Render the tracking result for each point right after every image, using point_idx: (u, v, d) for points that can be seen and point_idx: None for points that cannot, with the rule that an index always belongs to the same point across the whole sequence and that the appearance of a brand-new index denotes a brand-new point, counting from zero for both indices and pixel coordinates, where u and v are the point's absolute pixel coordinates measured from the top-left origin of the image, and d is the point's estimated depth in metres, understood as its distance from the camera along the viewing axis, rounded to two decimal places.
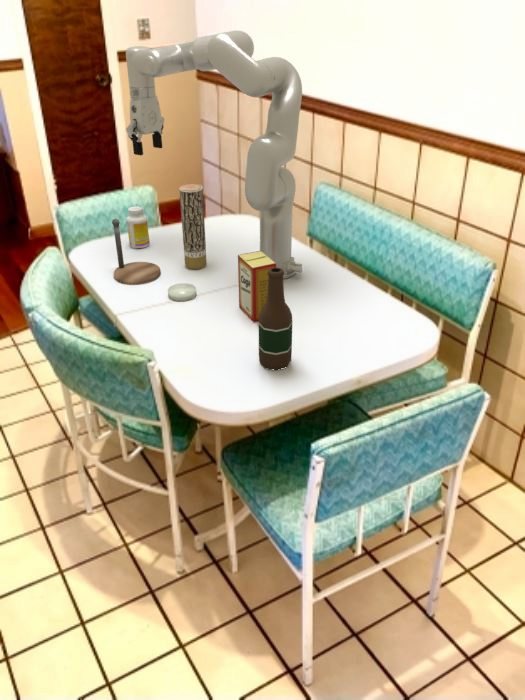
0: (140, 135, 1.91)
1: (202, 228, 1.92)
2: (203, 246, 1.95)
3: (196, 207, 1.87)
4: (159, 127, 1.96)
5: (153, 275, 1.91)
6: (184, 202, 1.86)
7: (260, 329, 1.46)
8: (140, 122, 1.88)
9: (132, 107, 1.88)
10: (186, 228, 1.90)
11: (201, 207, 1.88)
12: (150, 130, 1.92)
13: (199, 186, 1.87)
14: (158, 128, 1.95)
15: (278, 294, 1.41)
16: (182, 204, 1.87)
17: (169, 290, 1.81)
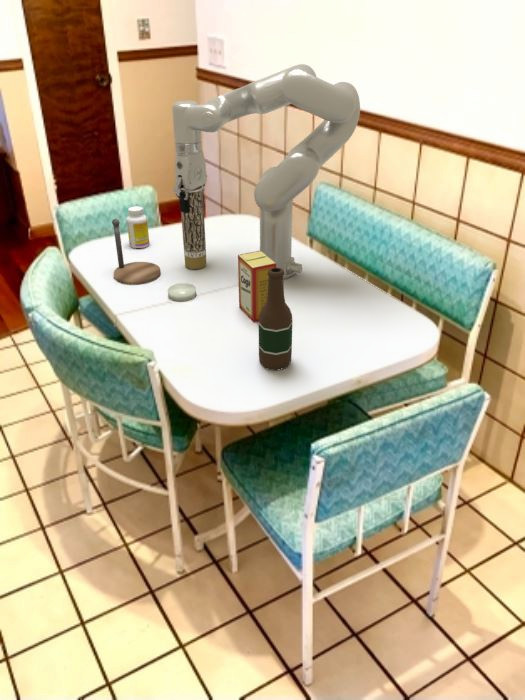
0: (187, 192, 1.84)
1: (202, 228, 1.92)
2: (203, 246, 1.95)
3: (196, 207, 1.87)
4: (204, 182, 1.87)
5: (153, 275, 1.91)
6: None
7: (260, 329, 1.46)
8: (186, 178, 1.80)
9: (177, 163, 1.80)
10: (186, 228, 1.90)
11: (201, 207, 1.88)
12: (195, 186, 1.84)
13: None
14: (203, 183, 1.87)
15: (278, 294, 1.41)
16: None
17: (169, 290, 1.81)
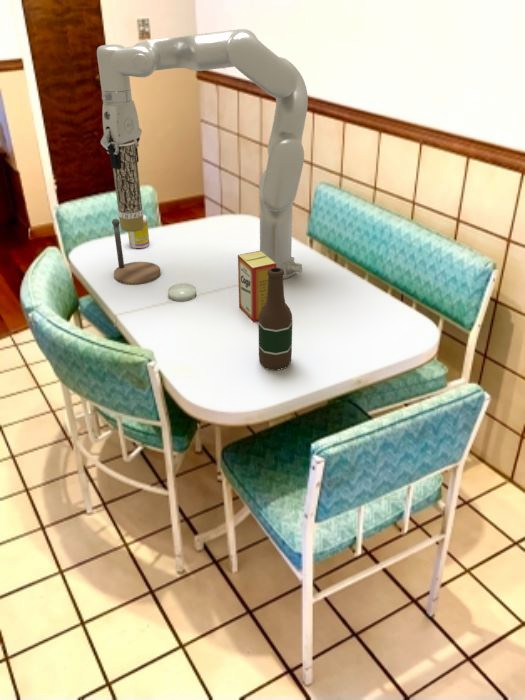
0: (117, 146, 1.70)
1: (136, 186, 1.78)
2: (138, 206, 1.81)
3: (127, 162, 1.74)
4: (136, 135, 1.74)
5: (153, 275, 1.91)
6: None
7: (260, 329, 1.46)
8: (114, 130, 1.67)
9: (105, 113, 1.67)
10: (119, 186, 1.77)
11: (134, 163, 1.75)
12: (126, 139, 1.71)
13: None
14: (135, 137, 1.74)
15: (278, 294, 1.41)
16: None
17: (169, 290, 1.81)
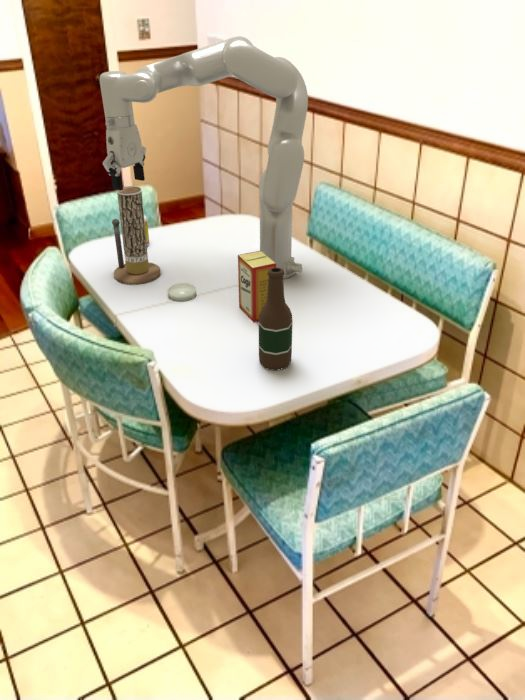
0: (119, 168, 1.73)
1: (142, 232, 1.86)
2: (144, 251, 1.89)
3: (134, 210, 1.81)
4: (140, 158, 1.77)
5: (153, 275, 1.91)
6: (122, 205, 1.80)
7: (260, 329, 1.46)
8: (118, 155, 1.70)
9: (109, 138, 1.70)
10: (125, 232, 1.84)
11: (140, 210, 1.82)
12: (130, 163, 1.74)
13: (138, 189, 1.81)
14: (139, 159, 1.77)
15: (278, 294, 1.41)
16: (120, 207, 1.81)
17: (169, 290, 1.81)
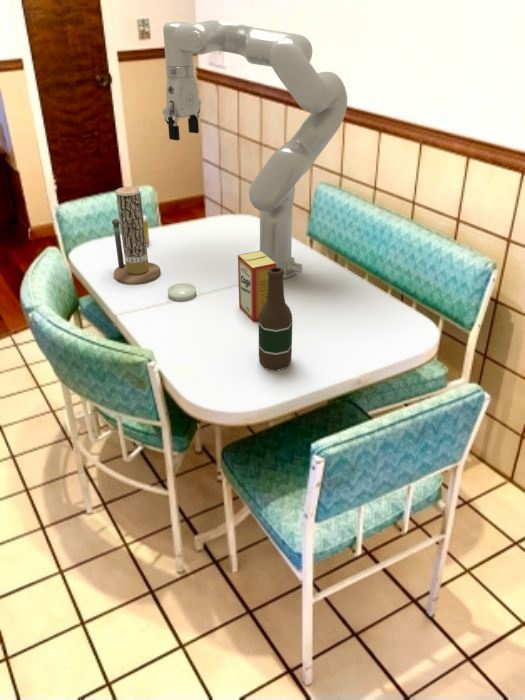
0: (177, 118, 1.77)
1: (141, 232, 1.85)
2: (143, 251, 1.88)
3: (133, 210, 1.81)
4: (196, 110, 1.82)
5: (153, 275, 1.91)
6: (121, 205, 1.80)
7: (260, 329, 1.46)
8: (177, 104, 1.75)
9: (169, 88, 1.75)
10: (125, 232, 1.84)
11: (139, 211, 1.82)
12: (187, 113, 1.79)
13: (136, 189, 1.81)
14: (195, 111, 1.82)
15: (278, 294, 1.41)
16: (119, 208, 1.81)
17: (169, 290, 1.81)
